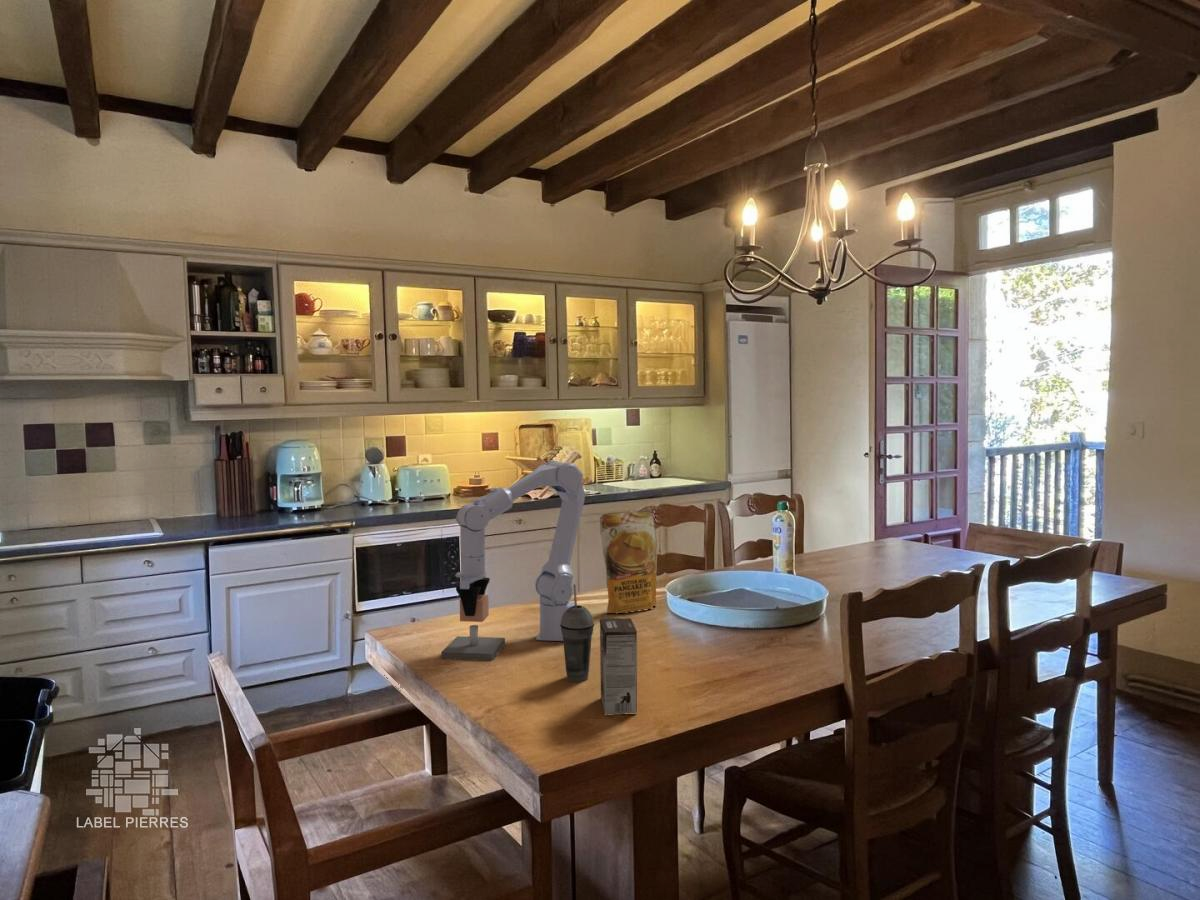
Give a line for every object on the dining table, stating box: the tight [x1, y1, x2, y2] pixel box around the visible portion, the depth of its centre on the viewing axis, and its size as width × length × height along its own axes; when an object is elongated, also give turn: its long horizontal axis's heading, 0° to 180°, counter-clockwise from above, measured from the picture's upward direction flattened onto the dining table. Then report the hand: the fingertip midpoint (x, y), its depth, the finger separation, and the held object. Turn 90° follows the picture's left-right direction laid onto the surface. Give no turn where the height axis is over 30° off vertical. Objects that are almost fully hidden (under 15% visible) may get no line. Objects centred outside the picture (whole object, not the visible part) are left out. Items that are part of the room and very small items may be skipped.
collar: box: [459, 594, 490, 623], centre depth 179 cm, size 5×5×5 cm
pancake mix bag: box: [599, 510, 658, 615], centre depth 214 cm, size 7×19×28 cm, turn 117°
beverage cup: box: [560, 583, 595, 683], centre depth 161 cm, size 7×7×20 cm
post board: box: [441, 624, 506, 661], centre depth 179 cm, size 12×12×6 cm
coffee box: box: [599, 617, 638, 715], centre depth 146 cm, size 9×6×16 cm
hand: (473, 612), depth 179 cm, fingers closed on collar, 5 cm apart
